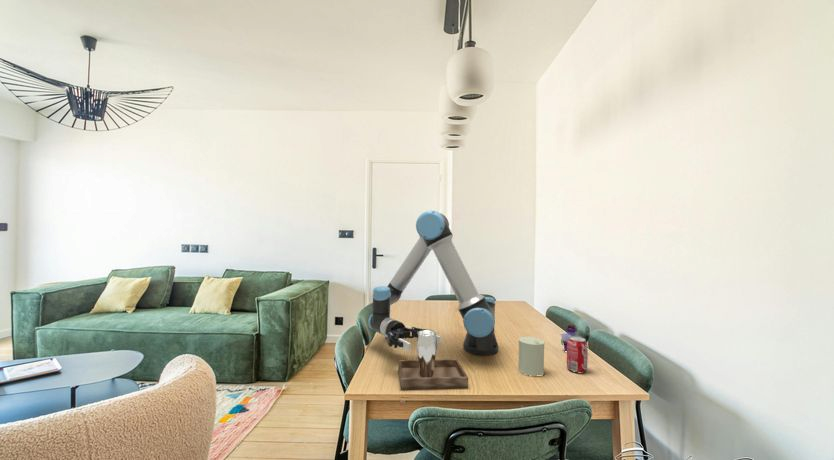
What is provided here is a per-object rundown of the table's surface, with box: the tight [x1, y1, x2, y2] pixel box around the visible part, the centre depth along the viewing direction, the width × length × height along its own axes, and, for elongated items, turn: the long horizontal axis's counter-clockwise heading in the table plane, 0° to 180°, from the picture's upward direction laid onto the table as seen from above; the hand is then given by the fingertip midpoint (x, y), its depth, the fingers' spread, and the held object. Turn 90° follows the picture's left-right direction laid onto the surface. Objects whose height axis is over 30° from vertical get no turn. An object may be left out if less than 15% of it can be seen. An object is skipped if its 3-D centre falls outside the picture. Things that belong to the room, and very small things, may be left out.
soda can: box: [566, 336, 589, 373], centre depth 125 cm, size 7×7×12 cm
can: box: [517, 336, 545, 377], centre depth 124 cm, size 9×9×12 cm
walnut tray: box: [397, 358, 469, 391], centre depth 116 cm, size 22×16×4 cm
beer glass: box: [416, 329, 438, 378], centre depth 115 cm, size 7×7×15 cm
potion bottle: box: [560, 323, 582, 352], centre depth 145 cm, size 9×9×12 cm
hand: (425, 343), depth 118 cm, fingers open, 13 cm apart
